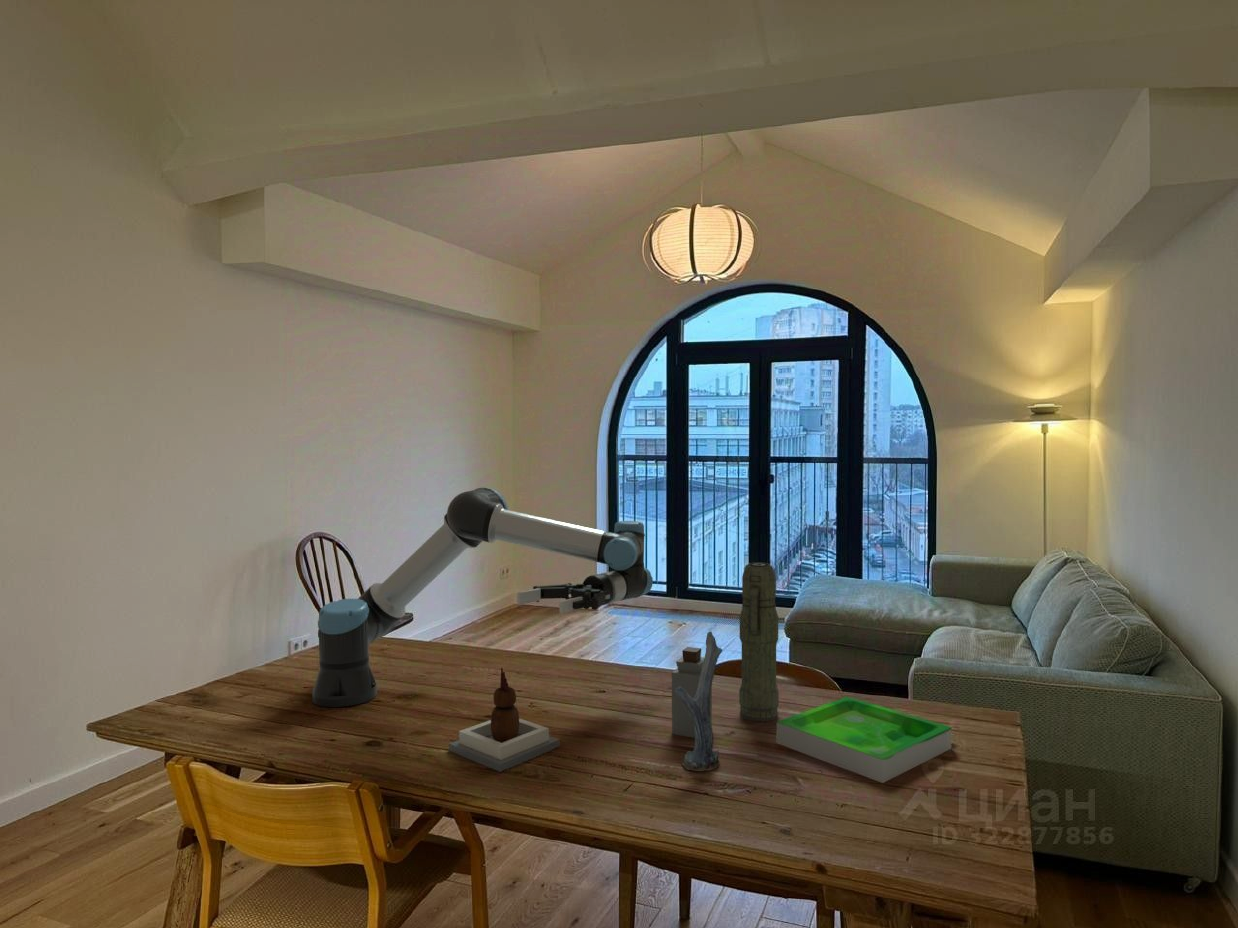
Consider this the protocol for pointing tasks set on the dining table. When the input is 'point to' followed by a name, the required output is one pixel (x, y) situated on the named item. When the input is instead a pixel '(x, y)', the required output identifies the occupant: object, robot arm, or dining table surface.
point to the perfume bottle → (689, 680)
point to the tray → (864, 737)
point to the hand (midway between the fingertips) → (538, 602)
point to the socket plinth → (503, 745)
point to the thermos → (759, 643)
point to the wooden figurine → (504, 713)
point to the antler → (702, 712)
